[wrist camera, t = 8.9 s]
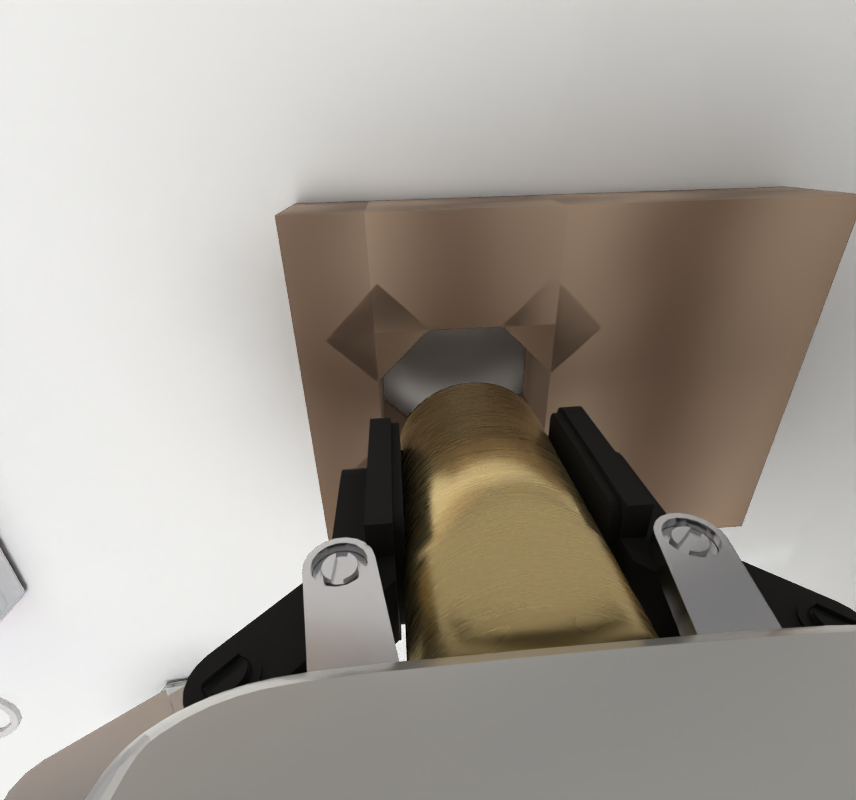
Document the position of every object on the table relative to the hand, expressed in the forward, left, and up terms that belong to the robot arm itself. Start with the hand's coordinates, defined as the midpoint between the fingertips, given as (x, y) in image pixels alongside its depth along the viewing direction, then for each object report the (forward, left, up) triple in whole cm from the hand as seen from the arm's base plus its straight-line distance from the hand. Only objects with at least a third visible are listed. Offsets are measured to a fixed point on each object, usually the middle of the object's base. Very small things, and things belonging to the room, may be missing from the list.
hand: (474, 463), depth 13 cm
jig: (-3, 0, -6) cm, 7 cm away
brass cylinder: (0, 0, -1) cm, 1 cm away
